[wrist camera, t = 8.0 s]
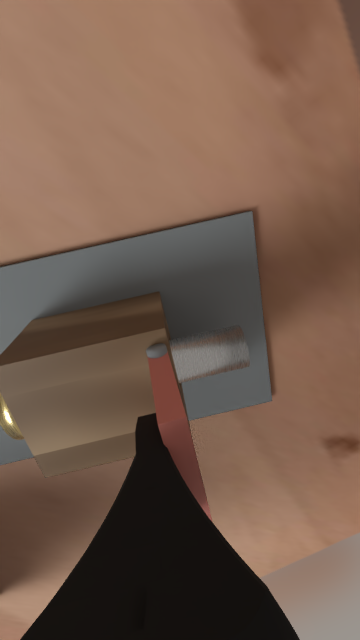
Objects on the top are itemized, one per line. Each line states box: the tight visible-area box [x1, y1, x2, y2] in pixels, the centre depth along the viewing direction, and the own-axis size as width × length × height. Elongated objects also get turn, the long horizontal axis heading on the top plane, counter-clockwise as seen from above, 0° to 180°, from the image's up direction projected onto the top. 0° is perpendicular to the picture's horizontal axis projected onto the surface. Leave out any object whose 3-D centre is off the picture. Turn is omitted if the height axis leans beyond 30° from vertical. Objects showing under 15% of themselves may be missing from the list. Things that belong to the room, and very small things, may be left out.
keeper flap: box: [146, 343, 212, 521], centre depth 11 cm, size 5×4×1 cm
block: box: [0, 291, 193, 478], centre depth 15 cm, size 6×7×5 cm
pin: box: [0, 325, 250, 440], centre depth 15 cm, size 4×12×4 cm, turn 102°
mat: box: [0, 211, 272, 465], centre depth 18 cm, size 12×19×1 cm, turn 102°
